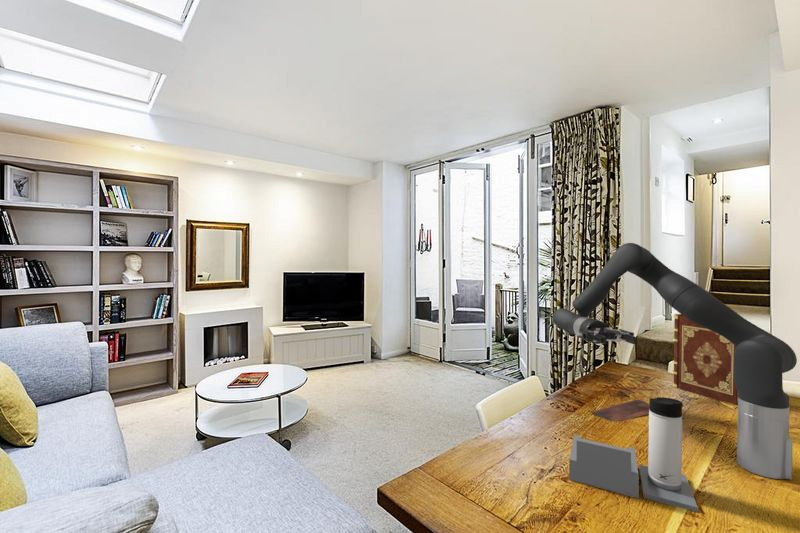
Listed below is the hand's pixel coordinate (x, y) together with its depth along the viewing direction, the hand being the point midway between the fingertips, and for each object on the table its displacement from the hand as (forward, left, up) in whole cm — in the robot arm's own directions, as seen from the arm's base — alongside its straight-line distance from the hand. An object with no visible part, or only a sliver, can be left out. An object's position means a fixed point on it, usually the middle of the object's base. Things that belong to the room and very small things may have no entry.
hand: (620, 340), depth 103 cm
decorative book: (-31, -63, -30) cm, 76 cm away
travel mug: (-9, +18, -29) cm, 35 cm away
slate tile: (-9, +18, -30) cm, 36 cm away
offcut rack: (+4, +18, -30) cm, 35 cm away
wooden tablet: (-3, -28, -31) cm, 42 cm away
